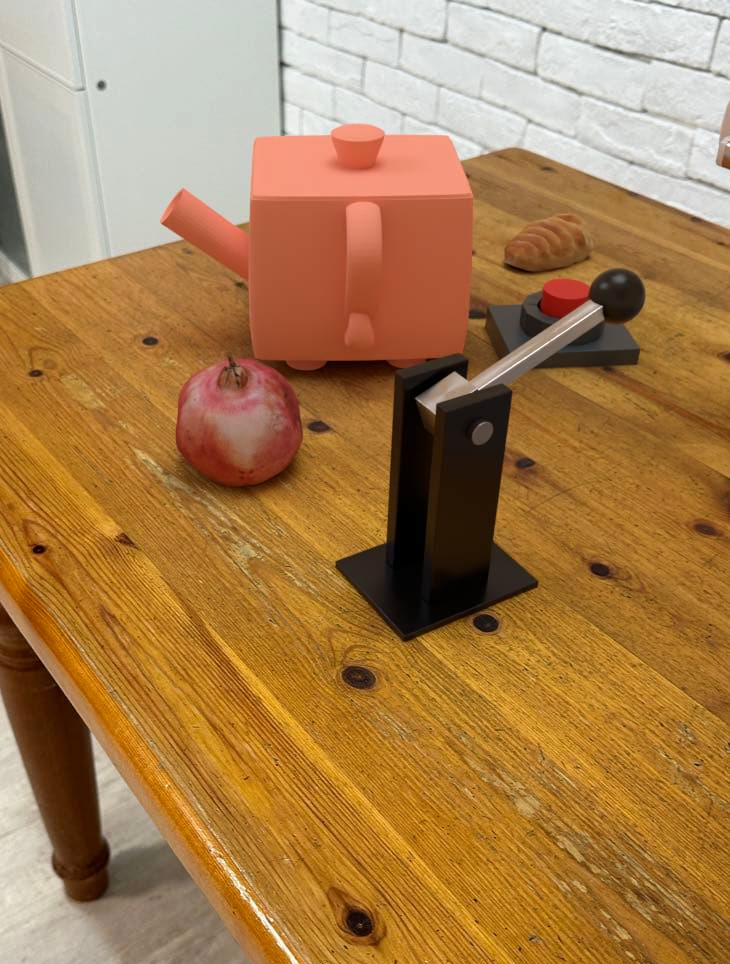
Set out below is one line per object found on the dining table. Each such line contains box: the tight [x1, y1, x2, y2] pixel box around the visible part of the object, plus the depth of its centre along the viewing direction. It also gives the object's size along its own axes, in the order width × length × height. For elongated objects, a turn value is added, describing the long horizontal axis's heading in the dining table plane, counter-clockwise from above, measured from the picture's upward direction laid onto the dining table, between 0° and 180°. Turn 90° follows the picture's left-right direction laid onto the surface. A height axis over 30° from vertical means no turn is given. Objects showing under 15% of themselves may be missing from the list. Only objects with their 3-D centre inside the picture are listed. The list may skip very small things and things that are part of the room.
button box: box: [484, 289, 641, 370], centre depth 90 cm, size 11×9×4 cm
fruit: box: [175, 351, 304, 488], centre depth 73 cm, size 9×10×10 cm
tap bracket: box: [334, 353, 539, 643], centre depth 62 cm, size 10×8×15 cm
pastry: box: [503, 212, 595, 273], centre depth 105 cm, size 9×7×4 cm
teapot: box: [159, 123, 474, 371], centre depth 87 cm, size 25×23×18 cm
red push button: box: [540, 278, 590, 319], centre depth 88 cm, size 4×4×2 cm
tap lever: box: [415, 267, 647, 436], centre depth 59 cm, size 15×3×3 cm, turn 120°
